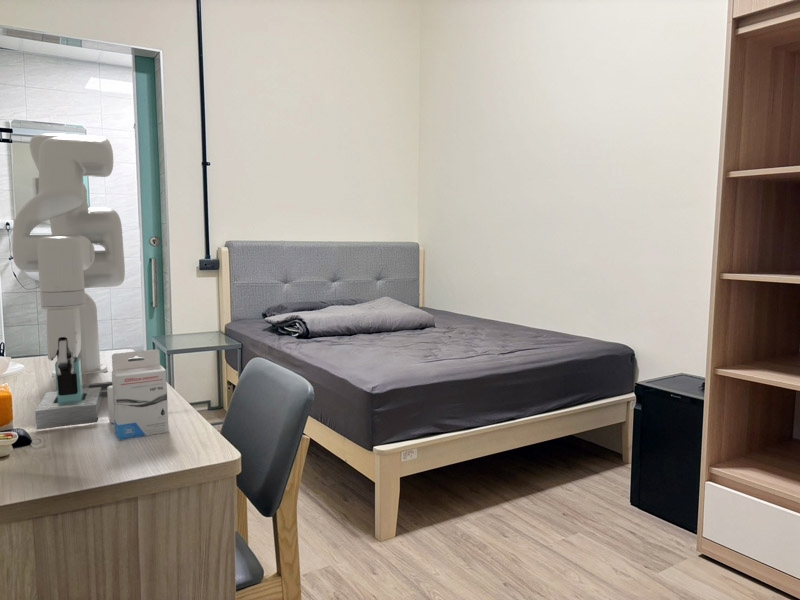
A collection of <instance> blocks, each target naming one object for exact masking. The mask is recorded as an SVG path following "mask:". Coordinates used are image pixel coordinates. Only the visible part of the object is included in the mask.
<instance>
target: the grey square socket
mask: <svg viewBox="0 0 800 600" xmlns="http://www.w3.org/2000/svg"><path fill="white" fill-rule="evenodd" d="M108 386H112V381H107V382H106V381H104V382H96V383H95V382H94V383H85V384H83V383H82V388H83V389H86V388H96V387H101V394H102V398H105V397H108V394H107V387H108Z"/></svg>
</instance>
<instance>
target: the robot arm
mask: <svg viewBox="0 0 800 600" xmlns="http://www.w3.org/2000/svg"><path fill="white" fill-rule="evenodd" d="M29 150H30V155H31V157H32V160H33V163H34V165H35V167H36V169H37V170H38V193H37V194H36V195H35V196H33V197H31V198H30V200H28V201H27V202H25V204H24V205H22V207H21V208H20V210H19V211H18V213H17V215H16V216H15V219H14V220H13V226H12V247H11V249H12V259H13V262H14V264H15V266H16V267H17V268H18V269H19V270H20V271H22V272H25V273H38V280H39V282H38V283H39V293H40V294H39V295H40V309H41V310H46V337H47V338H46V340H47V341H46V344H47V345H46V346H47V359H48V360H49V361H51V362H52V361H54V359H55V358H56V362H57V367H58V375H57V380H58V393H59V395H60V396H62V395H72V394H77V392H78V389H77V375H76V373H75V369H74V359H75V358H80V359H81V374H82V376H84V375H93V374H103V373H106V372H107V371H108V366H107V365H106V364H102V363H101V357H100V356H101V355H100V353H101V352H100V342H99V341H100V339H99V338H100V337H99V324H98V310H97V309H98V308H97V305H96V302H95V300H94V299H93V298H92V297H91V296H90V295H89V294H87V292H86V290H85V289H90V288H91V289H93V288H95V289H96V288H113V287H114V288H116V287H118V286H121V285H122V284H123V283H124V281H125V276H126V269H125V267H126V265H125V251H124V238H123V228H122V221H121V217H120V215H119V213H118V212H117V210H114V209H112V208H109V207H90V206H89V205H88V204H89V203H88V192H87V191H88V190H87V187H86V185H85V184H84V177H93V178H95V177H98V178H106V177H109V176H111V175H112V172H113V168H114V151H113V150H114V149H113V147H112V144H111V141H109V139H107V138H106V137H105V136H97V135H84V134H83V135H82V134H81V135H79V134H66V133H40V134H36V135H34V136H32V137H31V138H30V141H29ZM46 221H49V223H50V225H49V226H50V231H51V234H31V232H32V231H33V230H34V229H35V228H36V227H37V226H39V225H40V224H42V223H44V222H46ZM95 246H101V247H102V248H104V250H95ZM68 362H71V364H70V363H68ZM70 365H71V366H70ZM51 377H52V378H56V371H55V369H54V370H52V371H51Z"/></svg>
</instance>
